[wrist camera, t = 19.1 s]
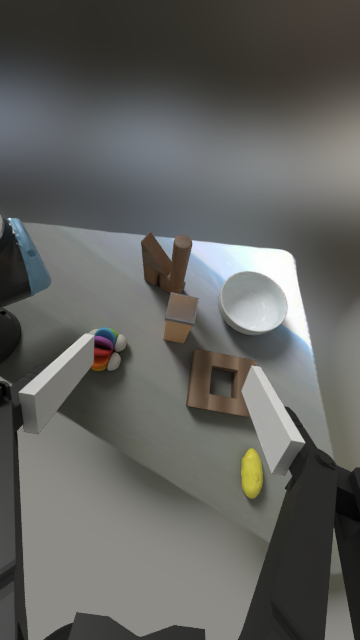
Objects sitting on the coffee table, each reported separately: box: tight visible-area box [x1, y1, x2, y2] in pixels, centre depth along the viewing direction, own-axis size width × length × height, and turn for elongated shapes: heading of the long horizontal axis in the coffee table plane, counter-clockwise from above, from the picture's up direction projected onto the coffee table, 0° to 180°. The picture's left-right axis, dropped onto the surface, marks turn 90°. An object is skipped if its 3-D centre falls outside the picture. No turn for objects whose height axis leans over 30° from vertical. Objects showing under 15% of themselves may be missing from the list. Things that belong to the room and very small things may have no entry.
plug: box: [164, 292, 199, 344], centre depth 42 cm, size 5×5×14 cm
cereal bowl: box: [218, 271, 288, 335], centre depth 50 cm, size 17×17×7 cm
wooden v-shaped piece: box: [141, 232, 192, 294], centre depth 45 cm, size 4×11×18 cm, turn 61°
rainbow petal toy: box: [89, 327, 127, 371], centre depth 42 cm, size 8×10×7 cm
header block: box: [186, 349, 256, 417], centre depth 44 cm, size 14×12×4 cm
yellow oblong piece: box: [241, 448, 263, 499], centre depth 38 cm, size 4×8×4 cm, turn 165°
